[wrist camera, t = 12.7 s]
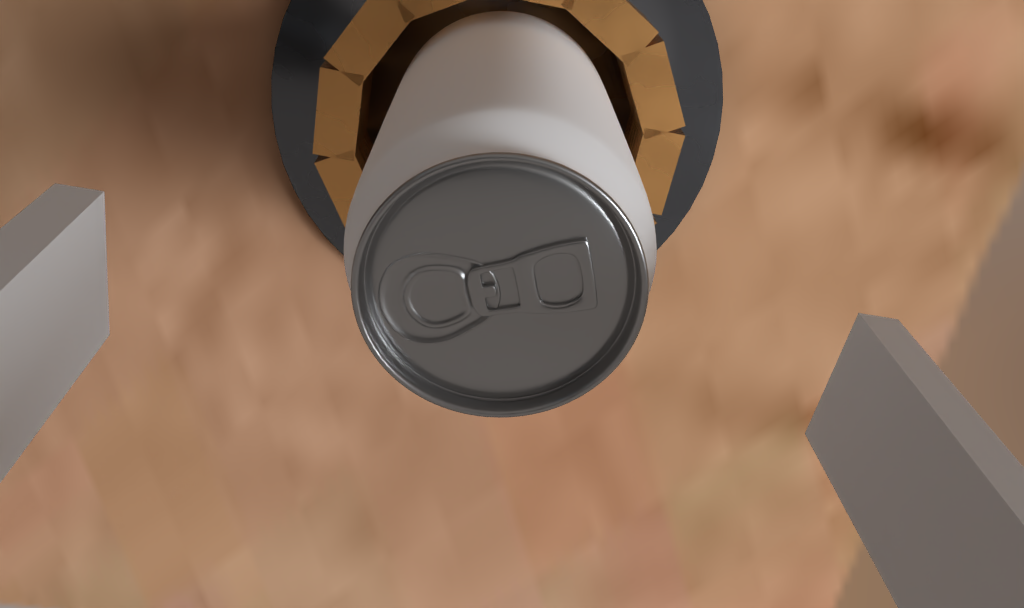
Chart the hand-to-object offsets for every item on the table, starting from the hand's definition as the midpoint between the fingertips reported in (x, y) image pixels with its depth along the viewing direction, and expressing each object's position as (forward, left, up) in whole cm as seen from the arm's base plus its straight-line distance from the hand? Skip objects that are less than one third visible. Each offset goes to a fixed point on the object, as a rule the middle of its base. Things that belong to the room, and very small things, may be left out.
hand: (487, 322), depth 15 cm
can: (0, 0, -13) cm, 13 cm away
